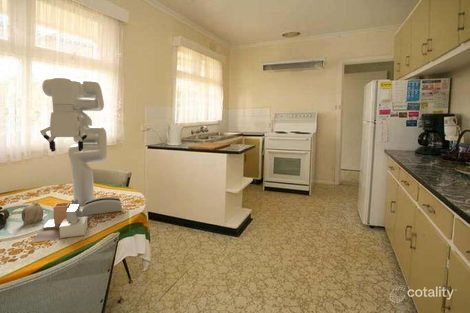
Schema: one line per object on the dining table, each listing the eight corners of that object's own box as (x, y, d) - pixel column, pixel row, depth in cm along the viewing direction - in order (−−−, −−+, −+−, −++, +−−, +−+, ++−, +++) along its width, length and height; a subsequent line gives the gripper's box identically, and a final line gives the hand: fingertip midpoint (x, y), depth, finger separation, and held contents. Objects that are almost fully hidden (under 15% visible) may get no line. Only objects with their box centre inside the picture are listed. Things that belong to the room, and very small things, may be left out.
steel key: (72, 227, 110) (71, 204, 108) (81, 227, 111) (79, 203, 109) (68, 236, 102) (66, 211, 100) (77, 235, 103) (75, 211, 101)
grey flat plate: (47, 224, 116) (47, 221, 115) (91, 220, 122) (91, 217, 121) (30, 246, 97) (30, 242, 97) (84, 239, 103) (83, 236, 103)
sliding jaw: (58, 219, 115) (56, 202, 114) (73, 217, 117) (72, 201, 116) (54, 224, 109) (52, 207, 108) (70, 223, 111) (68, 206, 110)
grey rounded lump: (32, 225, 120) (32, 203, 122) (50, 223, 120) (50, 200, 121) (13, 227, 111) (14, 203, 113) (33, 225, 110) (33, 200, 112)
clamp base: (49, 222, 115) (47, 199, 113) (88, 218, 120) (87, 196, 118) (43, 229, 107) (41, 205, 106) (85, 225, 113) (84, 202, 111)
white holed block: (65, 229, 108) (64, 218, 108) (87, 226, 111) (86, 216, 110) (60, 237, 101) (59, 226, 100) (84, 235, 104) (83, 224, 103)
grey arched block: (121, 209, 136) (121, 193, 131) (122, 215, 132) (122, 199, 128) (83, 214, 128) (82, 197, 124) (83, 221, 124) (82, 203, 120)
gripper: (89, 109, 115) (91, 149, 118) (41, 108, 109) (45, 150, 112) (86, 109, 108) (89, 151, 111) (35, 108, 102) (39, 152, 105)
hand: (67, 150), depth 111 cm, fingers open, 9 cm apart
